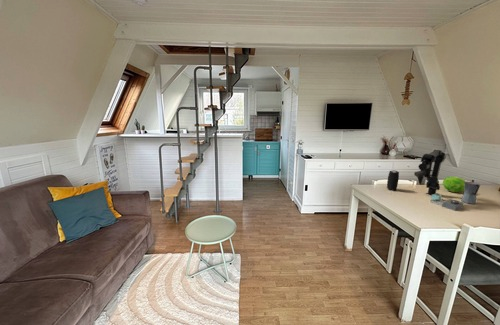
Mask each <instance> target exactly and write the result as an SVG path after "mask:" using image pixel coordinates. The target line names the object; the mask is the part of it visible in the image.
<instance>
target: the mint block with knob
mask: <svg viewBox="0 0 500 325" xmlns="http://www.w3.org/2000/svg"><path fill="white" fill-rule="evenodd" d="M442 196H443V195H442V194H440V193H438V192H436V193H435V194H432V195H431V198H430V199H431V200H433V199H439V200H442Z"/></svg>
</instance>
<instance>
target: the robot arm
mask: <svg viewBox="0 0 500 325" xmlns="http://www.w3.org/2000/svg"><path fill="white" fill-rule="evenodd" d="M446 158H447V155H446V153H445V152H443V151H442V150H440V149H434V150H433V151H431V152H430V153H424V154H423V155H422V156H421V160H420V162H421V163H420V164H418V166H417V167H418V169H419V171H414V174H413V175H414V176H415V177H416V178H417V181H418V184H419V185H421V184H422V183H423V179H424V178H426V184H425V185H426V186H425V188H426V189H427V188H428V191H427V192H426V193H425V194H426V195H429V196H432V194H435V193H437V191H439V190H440V188H441V185H440V181H439V174H440V169H441V166H442V164H443V163H444V162H445V160H446ZM433 163H434V164H433ZM432 166H433V167H432Z"/></svg>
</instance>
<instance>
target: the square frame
mask: <svg viewBox="0 0 500 325" xmlns="http://www.w3.org/2000/svg"><path fill="white" fill-rule="evenodd" d="M429 203H431V204H434V205H437V206H441V207H442V208H445V209H449V210H452V211H457V210H460V209H463V207H464V206H463V205H464V202H462V201H459V200H457V199H456V200H455V199H450V198H449V199H447V200H443V199H441V200H439V199H433V200H430V201H429Z"/></svg>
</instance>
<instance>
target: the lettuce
mask: <svg viewBox="0 0 500 325" xmlns="http://www.w3.org/2000/svg"><path fill="white" fill-rule="evenodd" d="M465 182H466V181H465V180H464V179H463V178H461V177H459V176H447V177H445V178H444V179H443V181H442V186H443V187H444V189H446V190H447V191H449V192H451V193H458V192H463V191H465Z"/></svg>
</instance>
